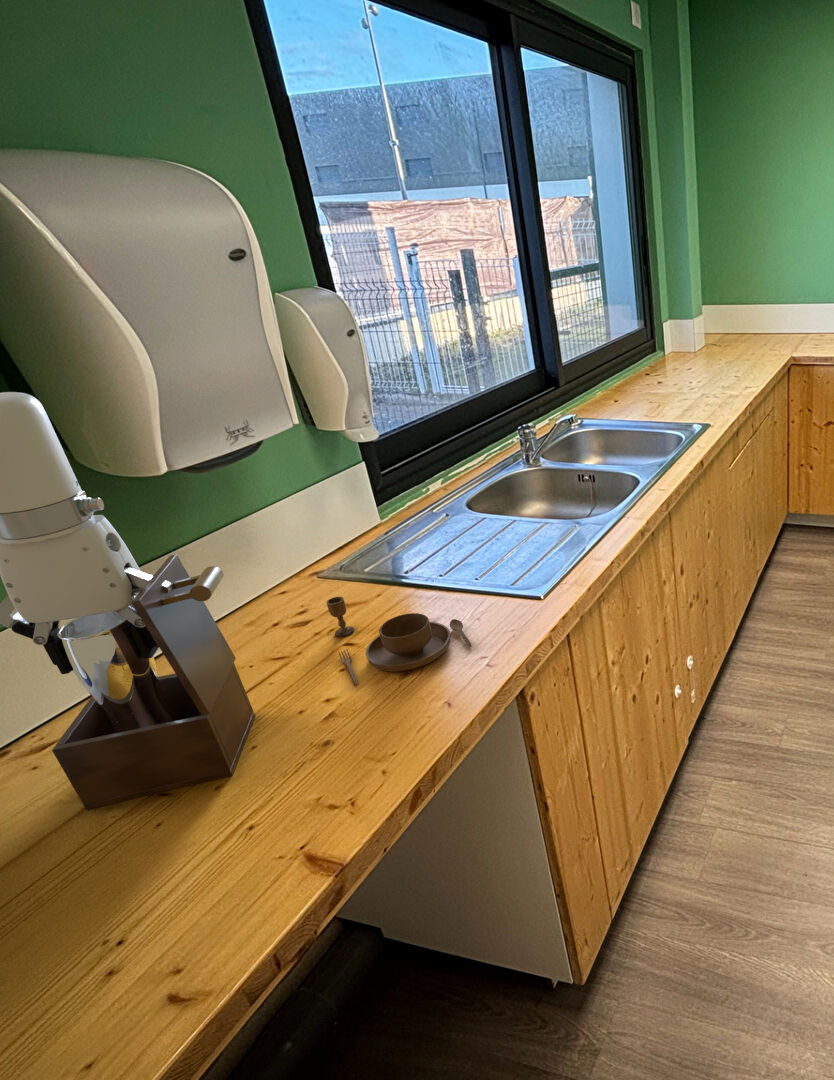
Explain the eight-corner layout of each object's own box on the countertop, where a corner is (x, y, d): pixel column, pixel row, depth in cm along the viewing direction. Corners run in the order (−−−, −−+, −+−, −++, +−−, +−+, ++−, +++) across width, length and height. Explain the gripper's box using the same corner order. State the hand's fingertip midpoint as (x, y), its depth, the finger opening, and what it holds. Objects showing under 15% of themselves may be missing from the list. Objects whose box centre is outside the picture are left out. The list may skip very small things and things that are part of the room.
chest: (85, 810, 79) (51, 750, 75) (126, 743, 89) (97, 688, 85) (232, 775, 83) (206, 717, 80) (255, 716, 93) (233, 661, 90)
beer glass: (109, 727, 84) (54, 621, 78) (179, 702, 88) (132, 599, 82) (111, 758, 79) (52, 647, 73) (185, 730, 83) (135, 623, 77)
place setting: (355, 694, 97) (344, 659, 94) (329, 632, 112) (319, 600, 109) (479, 649, 106) (472, 616, 103) (440, 597, 121) (433, 567, 118)
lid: (130, 602, 72) (190, 587, 74) (169, 555, 82) (221, 543, 83) (201, 715, 79) (255, 699, 81) (229, 660, 89) (276, 646, 91)
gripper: (154, 491, 77) (210, 627, 85) (-42, 516, 72) (36, 658, 80) (128, 516, 71) (191, 660, 79) (-90, 545, 66) (0, 697, 74)
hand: (112, 658), depth 79 cm, fingers closed on beer glass, 7 cm apart
